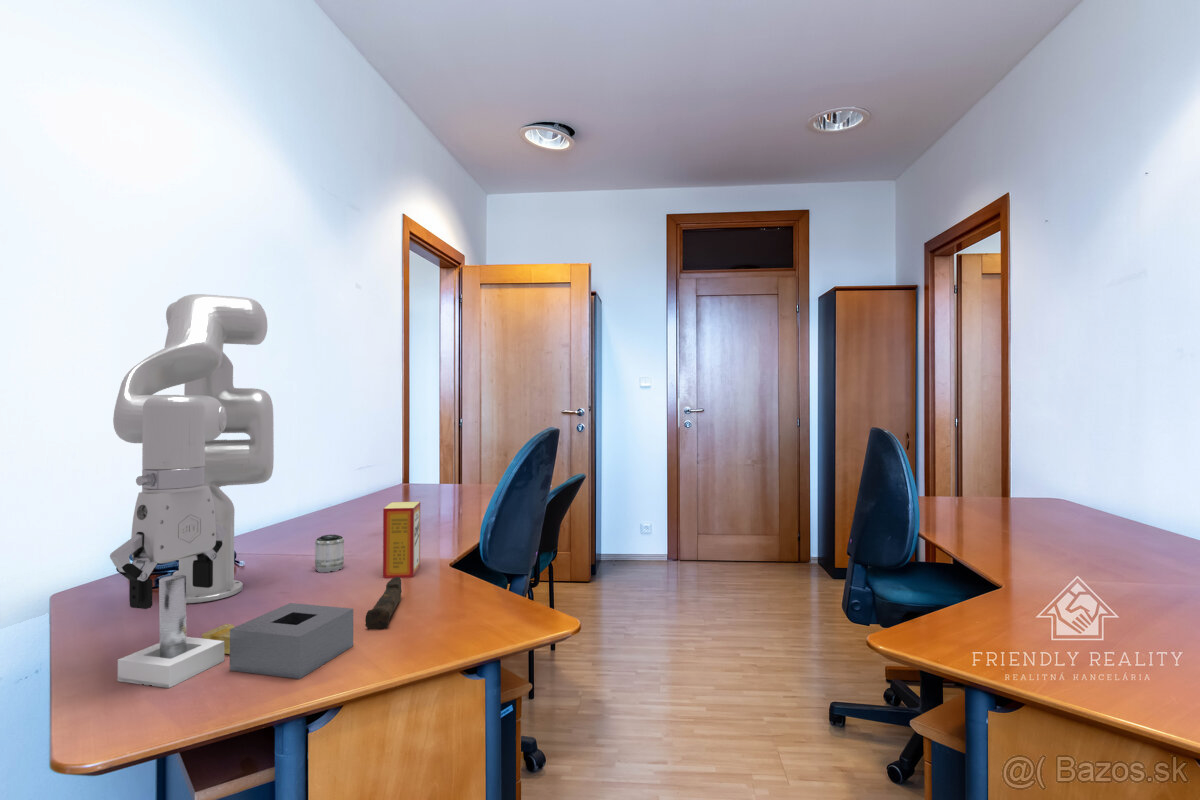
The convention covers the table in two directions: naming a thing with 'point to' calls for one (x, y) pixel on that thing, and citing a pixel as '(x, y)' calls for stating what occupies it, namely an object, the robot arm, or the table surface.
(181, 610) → the grey cylindrical peg
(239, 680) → the table surface
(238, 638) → the socket
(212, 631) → the key
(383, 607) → the hand tool
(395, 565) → the baking soda box
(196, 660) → the tray
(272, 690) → the table surface
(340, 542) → the camera lens
